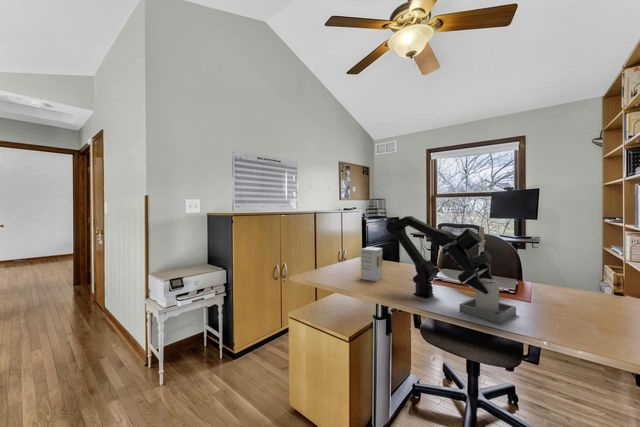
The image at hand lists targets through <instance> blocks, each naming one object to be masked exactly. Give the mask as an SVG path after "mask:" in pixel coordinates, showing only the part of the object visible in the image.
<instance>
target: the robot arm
mask: <svg viewBox="0 0 640 427" xmlns="http://www.w3.org/2000/svg"><path fill="white" fill-rule="evenodd" d="M406 227H407V228H408V227H410V228H412V229H415V230H416V231H418V232H420V233H421V234H424V235H426V236H427V237H429V238H430V240H432V242H433V243H435V244H437V245H438V246H439V247H443V248H442V255H443V256H445V255H449V256H450V257H451V259H453V260H454V261H455V266H456V267H460V268H461V269H462V270H463V272H461V273H460V274H458V275H457V280H458V281H459V282H460V284H464V285H466V284H467V285H469V286H471V287H473V288H475V289H474V290H476V289H477V290H479V291H481V292H483V293H484V294H488V293H489V292H488V291H487V289H486V288H485V286H484V285H483V284H482V282H481V281H480V280H479V279H491V280H494V278H493V276H492V274H491V269H492V267H491V266H492V265H491V264H490V263H489V262H492V261H493V260H492V258H491V257H492V254H491V253H490V252H488V251H486V250H484V251H483V252H480V255H479V254H478V255H475V256H474V254H472V253H470V254H469V253H468V252H467V250H468V251H471V250H472V249H474V248H475V247H476V246H477V245H479V243H480V242H481V241H482V239H481V237H480V236H479V234H478V233H476V232H475V231H473V230H471V229H470V228H465V230H464V231H463V232H461V234H459V235H457V234H454V233H453V232H452V231H448V230H445V229H441V228H437V227H434V226H432V225H430V224H428V223H426V222H423V220H422V221H421V220H419V219H417V218H415V217H414V216H412V215H409V216H404V217H402V218H399V219H397V220H390V221H387V223H386V227H385V229H386V230H387V231H386V232H388V233H389V234H390V235H391V236H392V237H394V238H395V239H396V240H397V241H398V242H399V243H400V245H401V246H402V248H403V249H404V250H405V252H406V254H407V255H408V256H409V258H410V259H411V260H412V262H413V264H414V266H415V267H414V268H415V272H416V275H415V276H413V277H412V282H413V284H414V283H415V292H413V295H414V296H416V297H417V296H418V297H420V298H424V299H428V298H431V297H434V293H433V292H434V290H433V286H432V285H433V283H432V282H433V281H434V280H435V278H436V277H437V275H438V270H437V266H436V265H435V264H434V262H433V261H432V260H431V259H429V260H426V259H425V258H424V257H423V255H422V253H420V250H418V248H417V247H416V245H415V244H414V243H413V242H412V240H411V238H410V237H409V236H408V234H407V229H406ZM453 243H454V244H453ZM445 246H448V247H445ZM467 285H466V286H467ZM473 288H472V289H473Z"/></svg>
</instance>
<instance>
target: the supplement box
mask: <svg viewBox="0 0 640 427" xmlns="http://www.w3.org/2000/svg"><path fill="white" fill-rule="evenodd" d="M382 278H383V248H382V247H375V246H366V247H363V248H361V249H360V279H361V280H366V281H371V282H378V281H379V280H380V279H382Z"/></svg>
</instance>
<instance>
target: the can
mask: <svg viewBox="0 0 640 427" xmlns="http://www.w3.org/2000/svg"><path fill="white" fill-rule="evenodd" d="M479 280H480V281H481V282H482V284H483V285H484V286H485V288H486V289H487V291H488V292H489V293H488V294H484V293H483V292H481V291H479V290H477V289H475V297H476V308H477V309H480V310H484V311H487V312H490V313H494V314H496V313H498V311H499V302H500V300H499V299H500V285H499V284H498V282H497V280H494V279H493V280H491V279H479Z"/></svg>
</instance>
